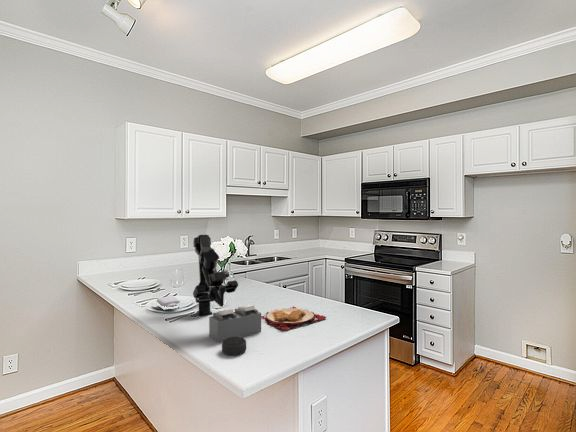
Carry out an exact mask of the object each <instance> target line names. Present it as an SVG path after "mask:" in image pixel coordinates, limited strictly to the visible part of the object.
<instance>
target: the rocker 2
mask: <svg viewBox="0 0 576 432" xmlns="http://www.w3.org/2000/svg"><path fill="white" fill-rule="evenodd" d="M237 309H239V310H241V311H249V310H254V309H256V307H255V305H242V306H238V307H237Z"/></svg>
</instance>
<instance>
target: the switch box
mask: <svg viewBox="0 0 576 432" xmlns="http://www.w3.org/2000/svg"><path fill="white" fill-rule="evenodd" d="M261 316H262V312H260V311H258V309H257V308H255V309H254V310H249V311H241V310H239V309H238V308H234V311H233V313H231V314H226V315H219V314H217V313H216V312H212V316H209V318H208V319H209V321H208V325H209V326H208V327H209V328H208V329H209V333H208V336H209V337H210V338H211V339H212V340H214V341H215V342H216V343H222V342H223V341H224V340H225V339H227V338H230V337H241V338H243V337H245V336H248V335H254V334H258V333H261V332H262V318H261Z"/></svg>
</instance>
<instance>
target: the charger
mask: <svg viewBox="0 0 576 432" xmlns="http://www.w3.org/2000/svg"><path fill="white" fill-rule="evenodd" d="M157 302H158V303H159V304H160V305H161V306H164V307H165V306H166V307H174V306H177V304H178V303H180V304H181V300H180V299H179V298H177V297H175V296H174V295H170V296H162V297H158V298H157V299H156V303H157Z"/></svg>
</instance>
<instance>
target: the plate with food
mask: <svg viewBox="0 0 576 432" xmlns="http://www.w3.org/2000/svg"><path fill="white" fill-rule="evenodd" d="M326 318H327V316H326V315H325V316H324V315H321V314H318V313H315V312H313V311H310V310H308V309H306V308H304V309H303V308H297V307H296V306H292V307H288V308H281V309H279V308H278V309H273V310H271V311H267V312H266V313H265V314H263V315H261V320H265V321H264V323H265V324H266V325H270V326H273V327H274V328H276V329H280V330H282V331H284V330H290V329H292V328H293V329H296V328H297V327H301V326H306V323H305V322H307V321H310V322H309V324H314V323H317V322H319V321H322V320H325V319H326Z"/></svg>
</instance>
